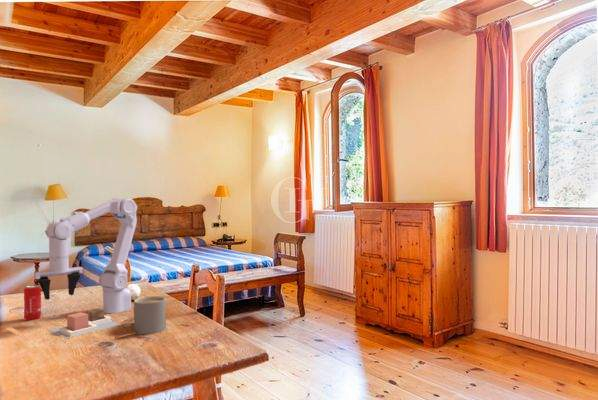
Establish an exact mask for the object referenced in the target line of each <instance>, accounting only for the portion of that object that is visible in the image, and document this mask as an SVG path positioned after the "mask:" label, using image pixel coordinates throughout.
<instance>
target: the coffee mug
mask: <svg viewBox="0 0 598 400" xmlns="http://www.w3.org/2000/svg"><path fill="white" fill-rule="evenodd" d="M166 303H167V302H166V297H165V296H161V295H149V296H142V297H138V298H137V299H136V300H134V301H133V328H134V333H136V334H139V335H151V334H152V333H153V334H158V333H160V332H163V331H165V330H166V329H167V326H166V325H167V323H166V321H167V318H166V315H167V314H166V310H167V309H166V305H167V304H166ZM157 332H158V333H157Z"/></svg>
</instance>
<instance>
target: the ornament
mask: <svg viewBox="0 0 598 400" xmlns="http://www.w3.org/2000/svg"><path fill="white" fill-rule="evenodd" d="M125 288H128V289H129V291H130V293H131V302H132V300H136V299H138V298H140V296H141V292H142V291H141V287H140V286H139V285H138V283H137V282H136V281H135V282H134V281H132V283H130V284H127V285H126V286H125Z"/></svg>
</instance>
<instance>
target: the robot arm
mask: <svg viewBox="0 0 598 400" xmlns="http://www.w3.org/2000/svg"><path fill="white" fill-rule="evenodd" d="M137 210H138V205H137V204H136V202H135V200H133V199H132V198H111V199H108V200H106V201H105V202H103V203H101V204H99V205H97V206H95V207H93V208H91V209H89V210H88V211H85V212H83V211H73V212H72V214H71V215H69V216H67V217H62V218H59V221H54V222H50V223H49V224H48V225H47V227H46V229H45V230H44V232H45V235H46V236H47V238H48V255H49V256H48V259H49V260H48V261H49V264H48V266H49V269H48V270H43V271H36V272H34V274H33V275H34V276H33V277H34V278H33V279H35V280H37V283H38V284H39V285H40V287H41V291H42V293H43V296H44V300H50V296H51V295H50V287H51V282H52V281H51V280H52V279H50V278H52V277H58V276H65V275H66V276H67V281H68V295H70V296H73V295H74V293H75V289H76V286H77V284H78V281H79V279H80V278H81V274H82V273H83V267H82V266H75V267H74V266H73V267H69V263H70V262H69V257H70V256H69V238H70V237H71V235H72V234H74V233H75V232H77V231H79V230H81V229H84V228H85V227H87V226H88V225H89V223H90V221H92V220H94V219H97V218H100V217H101V216H105V215H106V214H108V213H110V214H111V215H112V216H113V217H114V218H116V219H117V220H118V221H119V222H118V223H120V226H119V231H118V234H117V237H116V241H115V243H114V247H113V250H112V254H111V257H110V258H111V259H110V261H109V263H108V264H106V266H105V267H104V269H103V272H102V273H101V274H100V276H99V279H98V283H99V284H98V285H100V287H101V288H102V289H101V290H102V309H103V310H104V314H118V313H121V312H123V311H124V312H125V311H128V310H132V301H131V293H130V291H129V289H128V288H125V287H126V286H128V273H129V272H128V269H127V268H126V263H127V259H128V255H129V252H130V249H131V245H132V242H133V237H134V235H135V231H136V228H137V223H138V221H137V220H138V219H137Z"/></svg>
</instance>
